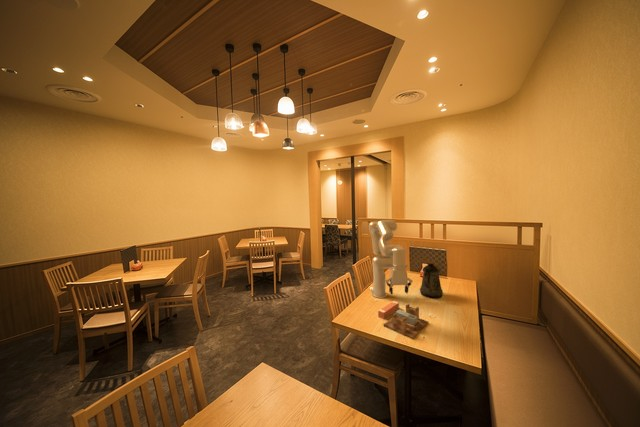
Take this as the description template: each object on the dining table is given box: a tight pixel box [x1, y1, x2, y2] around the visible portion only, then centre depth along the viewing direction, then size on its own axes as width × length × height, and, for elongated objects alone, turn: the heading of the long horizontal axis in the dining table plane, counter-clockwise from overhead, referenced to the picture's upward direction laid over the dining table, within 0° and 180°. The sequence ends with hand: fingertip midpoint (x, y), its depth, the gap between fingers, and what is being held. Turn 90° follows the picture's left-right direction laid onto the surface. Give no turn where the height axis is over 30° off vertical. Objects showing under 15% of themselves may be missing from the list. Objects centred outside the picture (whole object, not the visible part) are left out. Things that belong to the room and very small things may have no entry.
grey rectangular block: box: [394, 309, 417, 326], centre depth 136 cm, size 12×4×6 cm, turn 39°
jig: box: [383, 303, 429, 340], centre depth 136 cm, size 18×22×9 cm
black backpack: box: [419, 263, 444, 300], centre depth 176 cm, size 16×19×25 cm
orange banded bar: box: [377, 300, 400, 320], centre depth 151 cm, size 4×20×5 cm, turn 133°
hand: (398, 292), depth 142 cm, fingers open, 9 cm apart
